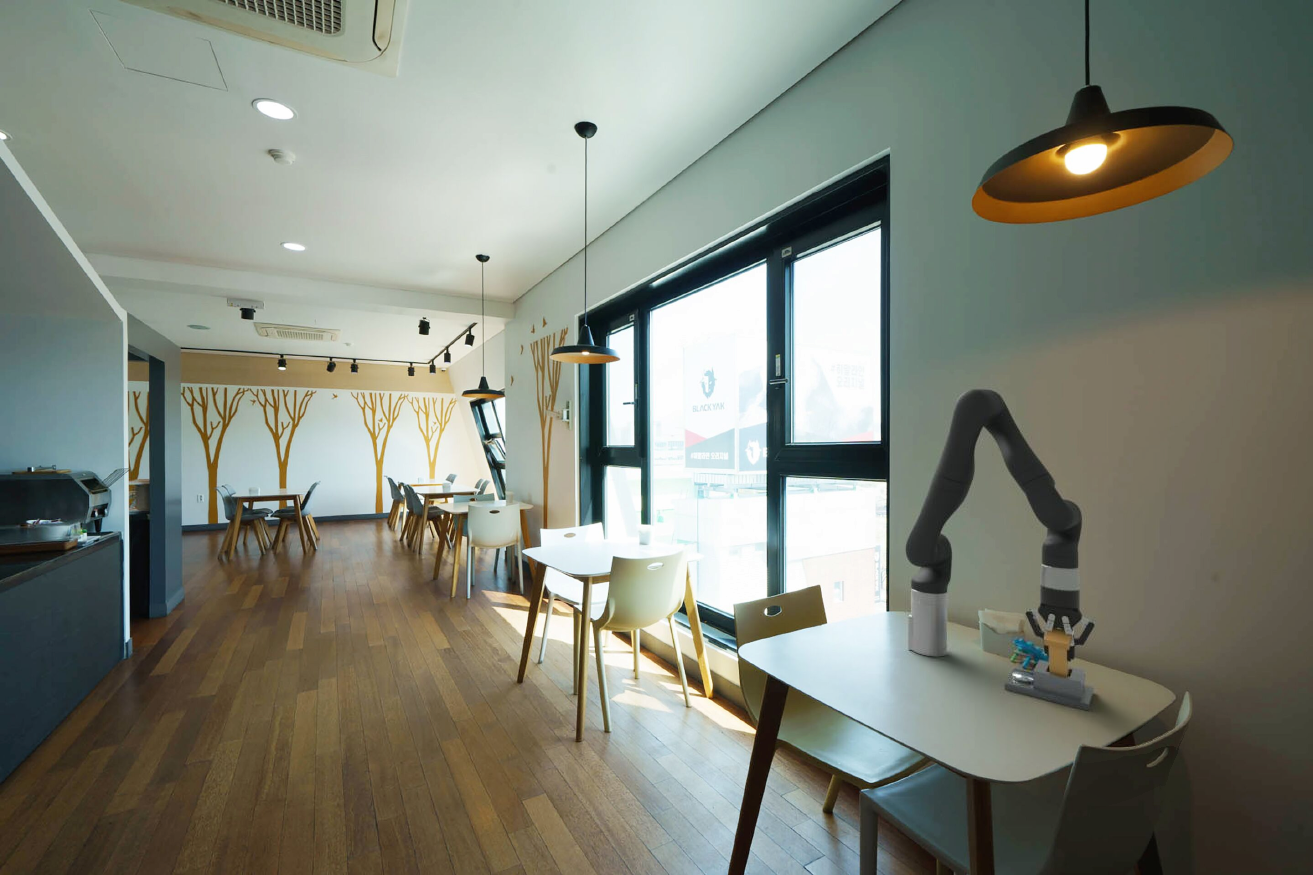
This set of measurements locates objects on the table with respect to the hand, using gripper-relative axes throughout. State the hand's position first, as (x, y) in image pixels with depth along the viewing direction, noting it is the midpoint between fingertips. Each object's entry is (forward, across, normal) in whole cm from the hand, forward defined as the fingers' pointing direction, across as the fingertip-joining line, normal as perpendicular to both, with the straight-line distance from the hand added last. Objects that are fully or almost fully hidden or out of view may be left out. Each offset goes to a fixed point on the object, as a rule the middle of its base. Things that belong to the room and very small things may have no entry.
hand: (1059, 657), depth 133 cm
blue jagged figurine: (+9, -8, +16) cm, 19 cm away
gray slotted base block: (+8, -2, 0) cm, 9 cm away
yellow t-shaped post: (+5, 0, 0) cm, 5 cm away
